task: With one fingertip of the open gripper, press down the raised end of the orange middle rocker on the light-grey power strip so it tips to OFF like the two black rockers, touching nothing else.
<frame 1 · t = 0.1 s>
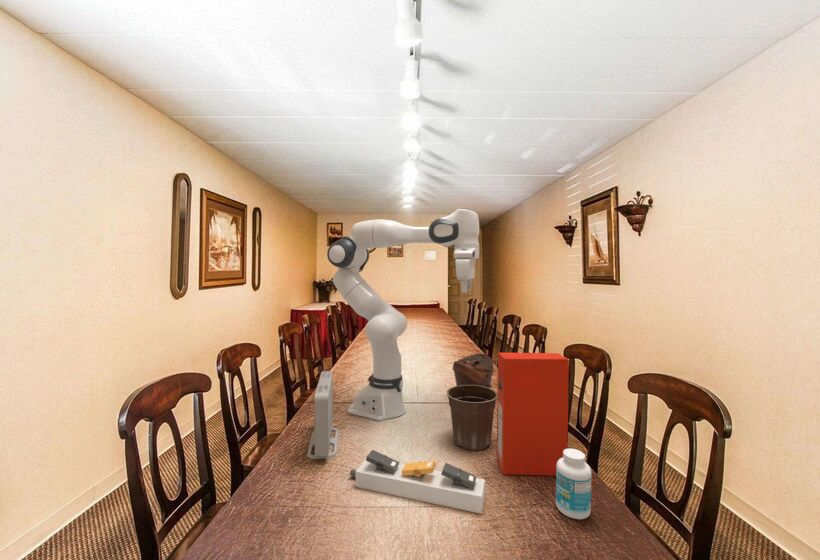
hand: (466, 291, 128), 48 cm above the table, fingers open, 8 cm apart
network device: (324, 443, 113), on the table
plant pot: (471, 442, 115), on the table
rocker left black: (382, 462, 92), point 6 cm above the table, hinge at 15.0°
rocker middle orange: (419, 469, 89), point 6 cm above the table, hinge at -15.0°
rocker right black: (458, 476, 86), point 6 cm above the table, hinge at 15.0°
pill bottle: (572, 510, 82), on the table
file binder: (530, 468, 100), on the table
power strip: (419, 491, 89), on the table
case: (472, 397, 154), on the table
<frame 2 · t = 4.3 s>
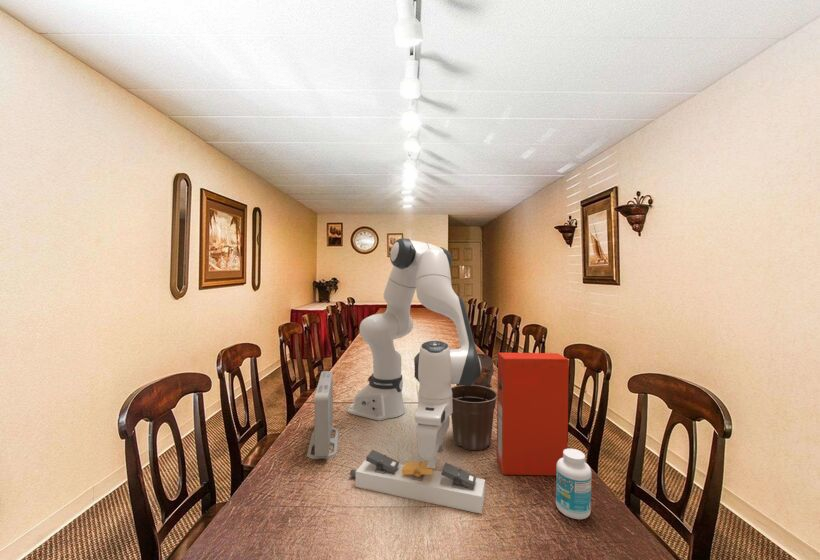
hand: (435, 459, 91), 7 cm above the table, fingers open, 7 cm apart
rocker middle orange: (419, 469, 89), point 6 cm above the table, hinge at -10.9°, touching gripper
everything else where it was.
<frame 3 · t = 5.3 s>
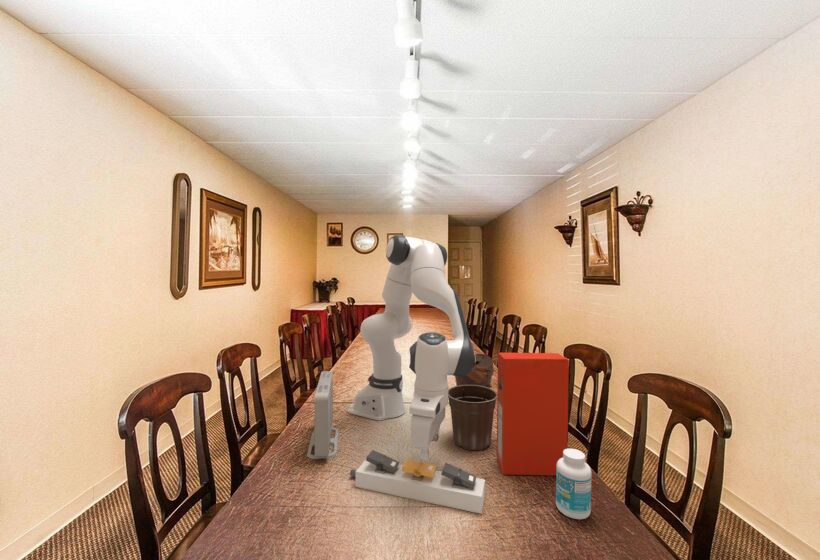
hand: (430, 448, 92), 9 cm above the table, fingers open, 8 cm apart
rocker middle orange: (419, 469, 89), point 6 cm above the table, hinge at 1.0°
everything else where it was.
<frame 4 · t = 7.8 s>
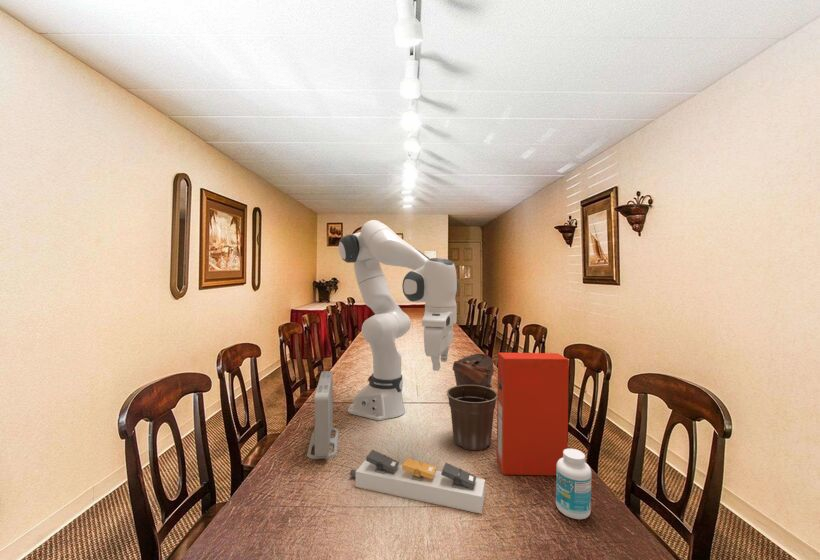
hand: (440, 365, 99), 29 cm above the table, fingers open, 8 cm apart
rocker middle orange: (419, 469, 89), point 6 cm above the table, hinge at 7.1°
everything else where it was.
at the end: rocker middle orange at +7° (first picture: -15°); rocker left black at +15° (first picture: +15°); rocker right black at +15° (first picture: +15°) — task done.
